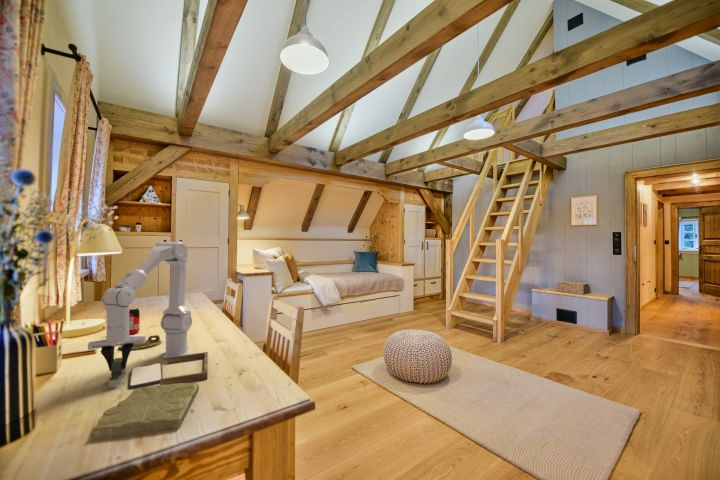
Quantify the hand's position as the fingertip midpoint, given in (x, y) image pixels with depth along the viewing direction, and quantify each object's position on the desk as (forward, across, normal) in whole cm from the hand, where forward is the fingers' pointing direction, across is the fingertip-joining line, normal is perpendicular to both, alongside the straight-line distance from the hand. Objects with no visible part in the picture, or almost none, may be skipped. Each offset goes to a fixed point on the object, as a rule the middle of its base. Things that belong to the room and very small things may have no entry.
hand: (117, 368), depth 100 cm
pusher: (+4, 0, 0) cm, 4 cm away
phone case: (+4, +8, 0) cm, 9 cm away
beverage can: (+4, -8, +60) cm, 61 cm away
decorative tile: (+4, +13, -26) cm, 29 cm away
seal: (+4, 0, +36) cm, 36 cm away
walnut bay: (+4, +19, 0) cm, 19 cm away
